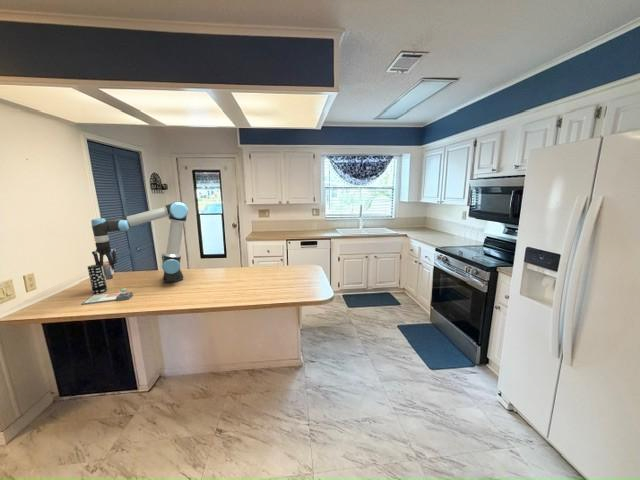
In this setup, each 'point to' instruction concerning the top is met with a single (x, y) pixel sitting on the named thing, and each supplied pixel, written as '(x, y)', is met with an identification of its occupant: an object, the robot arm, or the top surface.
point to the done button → (123, 291)
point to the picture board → (101, 298)
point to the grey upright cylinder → (107, 270)
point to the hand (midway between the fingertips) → (108, 274)
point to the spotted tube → (97, 279)
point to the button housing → (124, 296)
